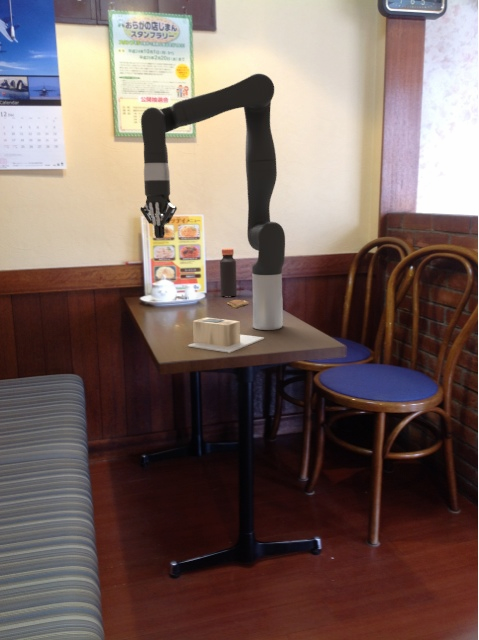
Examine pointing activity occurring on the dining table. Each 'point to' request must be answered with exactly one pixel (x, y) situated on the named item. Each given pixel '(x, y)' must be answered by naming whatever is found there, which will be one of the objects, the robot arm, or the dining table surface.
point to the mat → (244, 341)
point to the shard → (237, 303)
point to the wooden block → (216, 331)
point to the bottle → (228, 273)
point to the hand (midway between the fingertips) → (159, 238)
